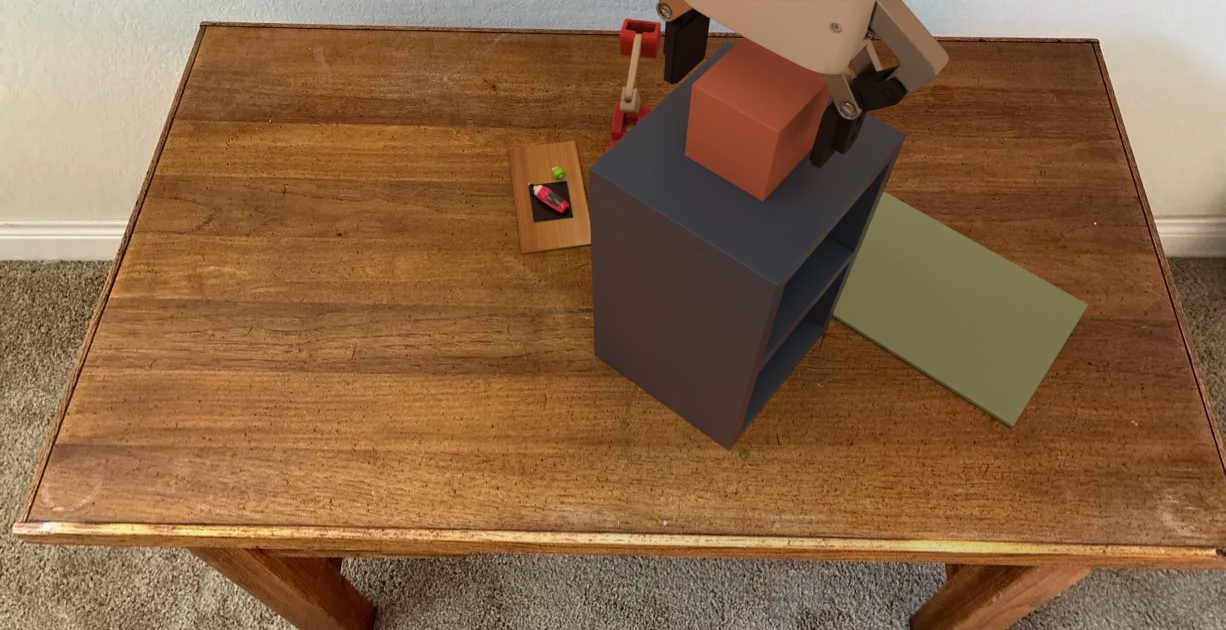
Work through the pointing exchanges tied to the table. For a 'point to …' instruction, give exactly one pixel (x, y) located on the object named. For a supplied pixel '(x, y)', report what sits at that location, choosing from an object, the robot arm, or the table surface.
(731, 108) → the toy block
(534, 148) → the board
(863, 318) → the play mat
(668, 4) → the robot arm
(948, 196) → the table surface
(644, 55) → the toy fire truck
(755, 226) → the shelf
